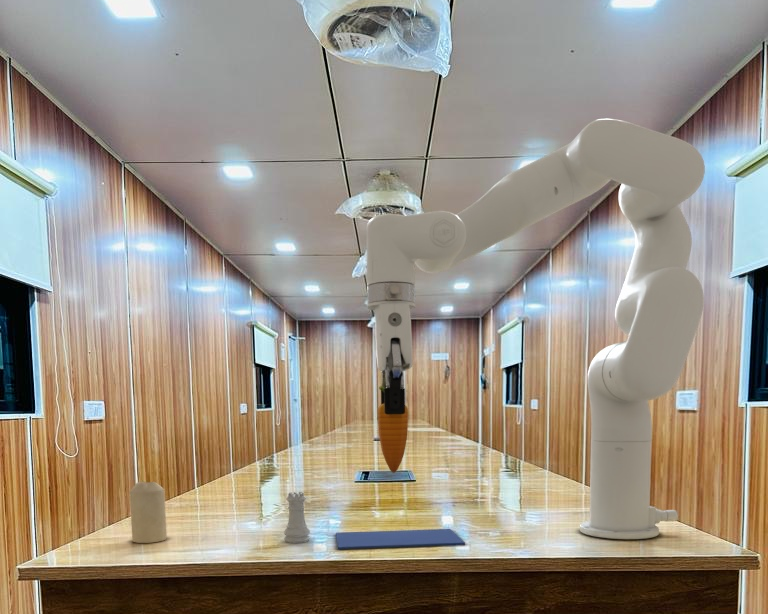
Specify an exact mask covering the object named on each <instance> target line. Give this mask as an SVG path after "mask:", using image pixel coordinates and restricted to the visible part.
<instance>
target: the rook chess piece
mask: <svg viewBox="0 0 768 614" xmlns="http://www.w3.org/2000/svg"><path fill="white" fill-rule="evenodd" d="M285 500H286V501H287V502H288V507H287V509H288V520H287V525H286V528H285V529H284V531H283V534H284V537H283V540H284V541H285V542H286V543H289V544H303V543H307V542H309V541H310V540H311V538H312V537H311V536H310V533H311V530H310V529H309V527H308V525H307V523H306V518H305V509H306V507H305V505H304V503H305V501H306V500H307V498H306V496H305V494H304V491H303V492H302V491H299V492H298V491H293V492H291V491H290V492H288V493H287V497H286V499H285Z"/></svg>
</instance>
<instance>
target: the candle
mask: <svg viewBox="0 0 768 614" xmlns="http://www.w3.org/2000/svg"><path fill="white" fill-rule="evenodd" d="M165 496H166V495H165V488H163V487H162V485H160V484H158V483H157V482H156V481H144V480H142V481H141V480H140V481H137V482H136V483H135V484H134V485H133V487H132V488H131V489H130V490H129V507H130V523H131V535H132V536H131V539H132V542H133V543H136V544H152V543H158V542H163V541H165V540H167V539H168V538H167V535H168V531H167V516H166V515H167V514H166V497H165Z"/></svg>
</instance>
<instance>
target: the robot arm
mask: <svg viewBox="0 0 768 614" xmlns="http://www.w3.org/2000/svg"><path fill="white" fill-rule="evenodd" d="M705 166H706V165H705V161H704V158H703V156H702V154H701V153H700V151H699V150H698V149H697V148H696V147H695V146H694V145H692V143H690V142H687V141H685V140H684V139H681V138H678V137H675V136H672V135H669V134H666V133H663V132H660V131H657V130H654V129H651V128H648V127H645V126H642V125H638V124H635V123H632V122H628V121H625V120H620V119H614V118H599V119H595V120H593V121H591V122H589V123H587V124H586V125H585V126H584V127H583V128H582V129H581V131H580V132H579V133H578V134H577V135H576V136H575V137H574V138H573V139H572V141H570V142H569V143H567V144H566V145H564V146H562V147H560V148H558V149H556V150H554V151H551V152H550V153H548V154H546V155H544V156H542V157H540V158H538V159H536V160H535V161H532V162H530V163H528V164H525V165H524V166H522V167H520V168H518V169H515V170H514V171H512V172H510V173H508V174H507V175H505V176H504V177H502V178H501V179H500V180H499V181H497V182H496V183H495V184H494V185H492V187H491V188H489V189H488V190H487V191H486V192H485V193H484V194H483V195H482V196H481V197H480V198H478V199H477V200H476V201H474V202H473V203H472V204H470V205H469V206H468V207H467V206H466V208H464V209H463V210H461V211H459V212H457V213H456V214H455V213H454V212H450V211H446V210H433V211H429V212H422V213H417V214H416V213H415V214H410V215H409V214H408V215H403V214H399V213H384V214H379V215H375V216H373V217H372V218H370V219H369V221H368V222H367V224H366V230H365V231H366V235H365V236H366V237H365V238H366V286H367V287H366V289H367V293H366V294H367V309H368V310H369V311H374V321H375V322H374V327H375V331H374V332H375V352H376V355H375V356H376V365H377V370H378V371H379V372H381V386H382V387H384V388H386V389H384V392H383V391H382V390H380V405H382V404H384V407H385V414H404V413H405V405H406V388H405V376H404V372H406V371H409V370H411V368H412V367H413V365H414V359H413V358H414V357H413V337H412V336H413V335H412V319H411V310H413V309H415V308H416V289H415V287H416V286H415V284H416V280H415V279H416V278H415V275H416V274H415V273H416V272H415V266H416V267H417V268H418V269H419V270H421V271H422V272H425V273H429V274H439V273H442V272H445V271H447V270H449V269H451V268H453V267H455V266H457V265H459V264H461V263H463V262H465V261H467V260H468V259H471V258H473V257H474V256H476V255H478V254H480V253H482V252H484V251H485V250H487V249H489V248H491V247H493V246H495V245H497V244H499V243H500V242H502V241H505V240H506V239H509V238H511V237H513V236H515V235H517V234H518V233H520V232H522V231H523V230H526V229H527V228H530V227H531V226H533V225H535V224H537V223H539V222H540V221H543V220H545V219H546V218H548V217H550V216H552V215H554V214H556V213H558V212H560V211H562V210H564V209H566V208H568V207H570V206H572V205H575V204H577V203H578V202H580V201H582V200H584V199H586V198H588V197H590V196H592V195H593V194H595V193H597V192H598V191H600V190H601V189H602V188H603V187H605V186H606V185H607V184H608V183H609V182H611V181H614V182H615V183H619V184H621V185H620V187H619V190H618V205H619V208H620V210H621V212H622V214H623V216H624V217H625V219H626V220H627V222H628V223H629V225H630V226H631V228H632V230H633V233H634V238H635V239H634V240H635V246H634V250H633V254H632V257H631V261H630V265H629V267H628V269H627V273H626V276H625V280H624V282H623V285H622V287H621V291H620V293H619V296H618V299H617V302H616V306H615V311H614V319H615V323H616V325H617V327H618V328H619V330H620V331H621V332H622V333H623V334H624V335H626V336H627V335H628V337H627V339H626V340H625V341H621V342H616V343H613V344H611V345H608V346H605V347H604V348H602V349H601V350H600V351H598V352H597V354H595V356H594V357H593V359H592V360H591V362H590V365H589V367H588V371H587V390H588V398H589V406H590V430H591V431H590V460H589V463H590V465H589V467H590V468H589V469H590V470H589V511H588V512H589V520H588V521H587V520H586V521H584V522H582V523H580V524H579V531H580V532H581V534H583V535H584V534H585V535H587V536H591V537H596V538H601V539H612V540H645V539H651V538H655V537H657V536H659V534H660V527H659V526H657V525H658V524H659V523H660V522H666V523H667V522H677V521H678V520H679V513H678V511H677V510H676V509H664V510H662V509H658V508H657V507H655V506H651V505H650V504H651V472H652V470H651V467H652V440H653V423H652V422H653V421H652V414H651V408H650V403H649V401H653V400H656V399H659V398H661V397H663V396H665V395H666V394H668V393H669V392H670V391H671V390H672V389H673V388H674V386H676V384H677V382H678V380H679V378H680V376H681V374H682V372H683V369H684V367H685V364H686V362H687V359H688V356H689V353H690V350H691V347H692V344H693V342H694V339H695V335H696V333H697V330H698V328H699V325H700V321H701V318H702V315H703V311H704V303H705V297H704V296H705V295H704V289H703V287H702V284H701V281H700V280H699V278H698V277H697V276H696V275H695V274H694V273H693V272H692V271H690V270H689V269H687V267H688V263H689V260H690V256H691V252H692V244H693V239H692V232H691V229H690V226H689V224H688V221H687V219H686V218H685V214H683V211H682V209H681V208H680V206H679V205H680V204H682V203H684V202H685V201H687V200H688V199H690V198H691V197H692V196H694V194H695V193H696V192H697V191H698V189H699V188H700V186H701V185H702V183H703V180H704V177H705V174H706V173H705V172H706V167H705ZM656 524H657V525H656Z"/></svg>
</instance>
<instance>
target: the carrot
mask: <svg viewBox="0 0 768 614" xmlns="http://www.w3.org/2000/svg"><path fill="white" fill-rule="evenodd" d="M378 389H379V390H380V391H381V390H382V391H383V392H384V389H386V388H384V387H382V385H380V386H378ZM377 425H378V426H377V427H378V437H379V442H380V448H381V452H382V455H383V458H384V461H385V463H386V465H387V467H388V469H389V471H390V472H391V473H392V474H395V473H396V472H397V471H398V470H399V467H400V466H401V463H402V461H403V458H404V455H405V451H406V446H407V439H408V429H409V428H408V427H409V408H408V406H407V405H406V404H405V413H404V414H385V407H384V404H382V405H381V404H380V405H379V406H378V408H377Z"/></svg>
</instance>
